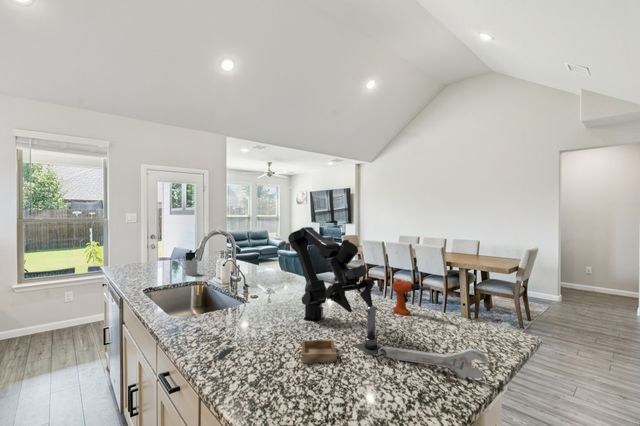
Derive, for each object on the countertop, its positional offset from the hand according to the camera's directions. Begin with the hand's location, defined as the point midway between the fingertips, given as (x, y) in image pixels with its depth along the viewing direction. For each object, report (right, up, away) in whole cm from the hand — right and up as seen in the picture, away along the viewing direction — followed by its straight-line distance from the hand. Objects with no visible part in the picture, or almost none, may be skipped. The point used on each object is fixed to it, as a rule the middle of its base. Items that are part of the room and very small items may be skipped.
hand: (361, 309), depth 104 cm
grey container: (-106, -11, +113) cm, 156 cm away
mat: (+2, -11, -4) cm, 12 cm away
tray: (-14, -11, -9) cm, 20 cm away
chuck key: (+2, -11, -4) cm, 12 cm away
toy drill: (+25, -12, +30) cm, 41 cm away
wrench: (+17, -12, -16) cm, 26 cm away
